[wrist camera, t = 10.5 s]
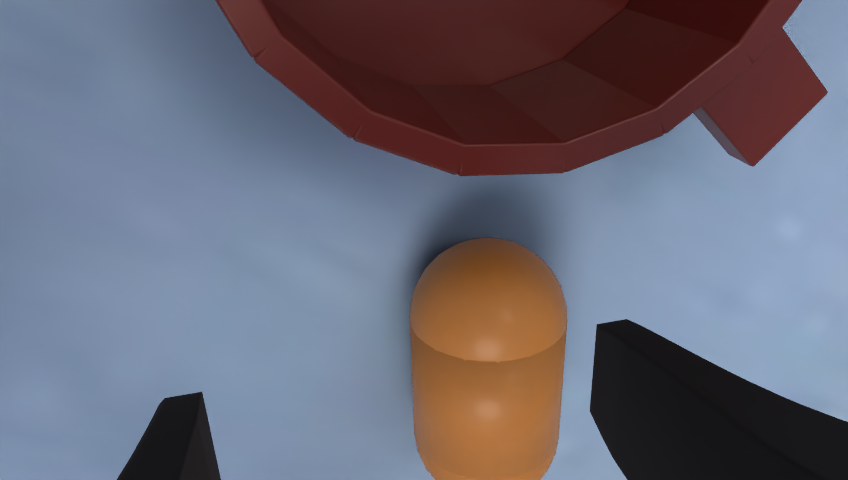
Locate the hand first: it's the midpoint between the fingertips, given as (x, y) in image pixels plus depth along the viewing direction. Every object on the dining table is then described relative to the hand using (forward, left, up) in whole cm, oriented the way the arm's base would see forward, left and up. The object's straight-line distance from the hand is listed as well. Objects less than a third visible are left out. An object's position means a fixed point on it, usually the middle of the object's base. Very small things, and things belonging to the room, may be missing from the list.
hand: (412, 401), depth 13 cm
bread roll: (-1, -6, -9) cm, 10 cm away
